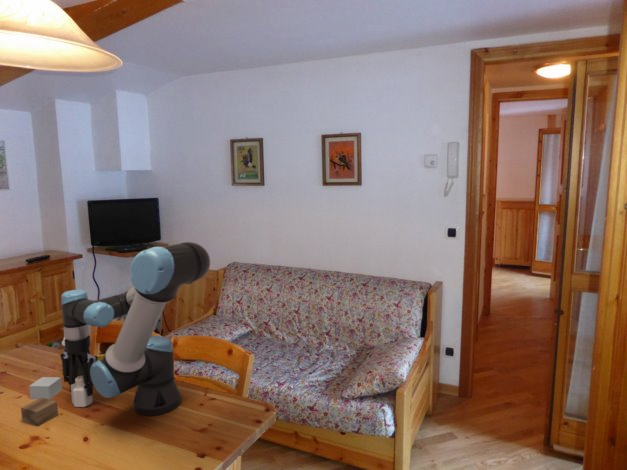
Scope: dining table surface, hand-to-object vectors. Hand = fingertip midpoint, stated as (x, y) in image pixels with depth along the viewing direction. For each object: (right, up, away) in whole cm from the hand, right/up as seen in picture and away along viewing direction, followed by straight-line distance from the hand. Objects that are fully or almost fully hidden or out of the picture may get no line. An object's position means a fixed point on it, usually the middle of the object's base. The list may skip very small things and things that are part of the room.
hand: (82, 402), depth 153 cm
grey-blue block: (-17, 0, +7) cm, 18 cm away
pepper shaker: (0, -1, 0) cm, 1 cm away
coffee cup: (-14, +2, +24) cm, 28 cm away
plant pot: (+1, +1, +15) cm, 16 cm away
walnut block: (-9, -2, -8) cm, 13 cm away
